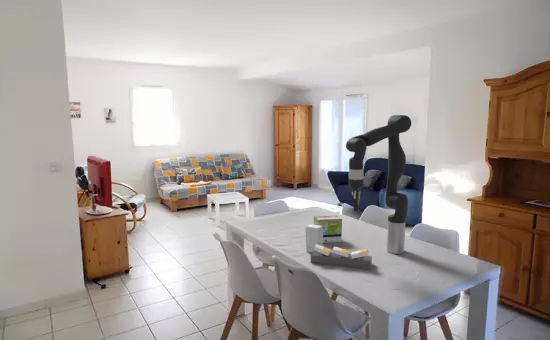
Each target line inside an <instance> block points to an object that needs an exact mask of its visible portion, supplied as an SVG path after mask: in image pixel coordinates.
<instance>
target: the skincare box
mask: <svg viewBox="0 0 550 340" xmlns="http://www.w3.org/2000/svg"><path fill="white" fill-rule="evenodd" d="M304 228H305V244H306V245H305V247H306V248H305V249H306V250H305V252H307V253H311V254H312V253H313V251H314V247H315V245H316V244H318V245H320V246H323V247H324V243H323V226H320V225H314V224H308V225H306V226H305V227H304Z"/></svg>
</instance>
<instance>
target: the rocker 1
mask: <svg viewBox="0 0 550 340" xmlns="http://www.w3.org/2000/svg"><path fill="white" fill-rule="evenodd" d="M314 250H315V251H318V252H320V253H322V254H325V255H327V256H328V255H329V254H330V252H332V249H330V248H327V247H325V246H324V245H323V246H320V245H318V244H316V245H315V247H314Z"/></svg>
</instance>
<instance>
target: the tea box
mask: <svg viewBox="0 0 550 340" xmlns="http://www.w3.org/2000/svg"><path fill="white" fill-rule="evenodd" d="M313 225H320V226H323V244H324V243H326V244H328V243H329V244H330V243H342V235H343V233H342V232H343V228H342V227H343V219H342V218H341V217H340V216H339V215H337V214H335V215H331V214H330V215H314V216H313Z"/></svg>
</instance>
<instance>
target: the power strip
mask: <svg viewBox="0 0 550 340" xmlns="http://www.w3.org/2000/svg"><path fill="white" fill-rule="evenodd" d="M310 263H311V264H320V265H327V266H337V267H345V268H352V269H354V268H355V269H362V270H371V268H372V263H373V256H372V255H368V256H363V257H358V258H353V259H352V257H351V253H349V255H348V257H345V256H342V255H338V254H335V253H332V251H330V254H329V255H328V256H327V255H325V254H322V253H320V252H318V251H315V250H314V251H313V253H311V254H310Z"/></svg>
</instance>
